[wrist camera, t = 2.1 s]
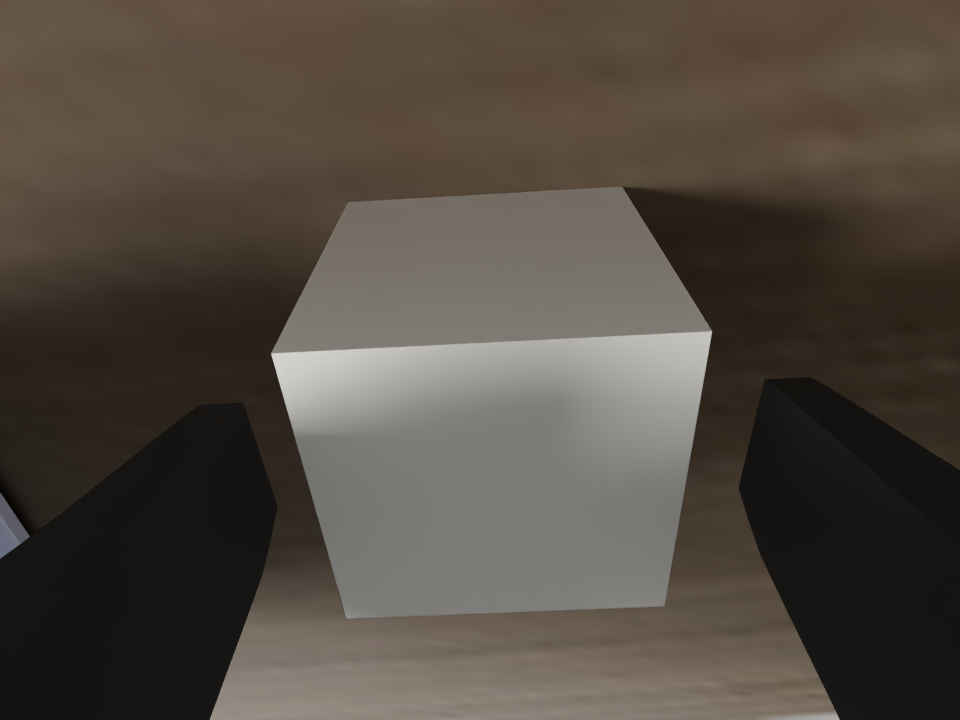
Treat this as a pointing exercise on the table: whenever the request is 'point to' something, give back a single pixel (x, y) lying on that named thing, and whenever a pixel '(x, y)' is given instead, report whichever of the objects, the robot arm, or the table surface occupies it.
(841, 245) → the table surface
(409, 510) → the white cube
